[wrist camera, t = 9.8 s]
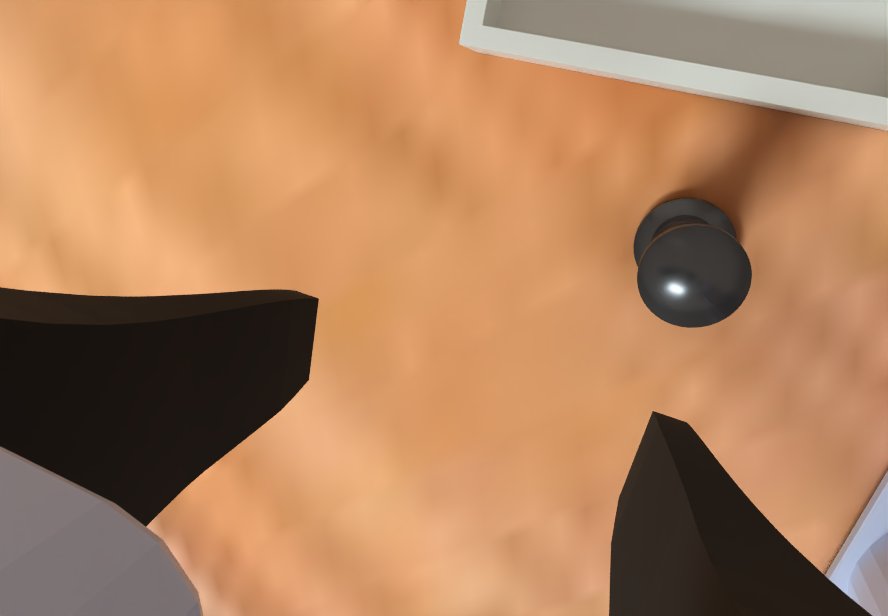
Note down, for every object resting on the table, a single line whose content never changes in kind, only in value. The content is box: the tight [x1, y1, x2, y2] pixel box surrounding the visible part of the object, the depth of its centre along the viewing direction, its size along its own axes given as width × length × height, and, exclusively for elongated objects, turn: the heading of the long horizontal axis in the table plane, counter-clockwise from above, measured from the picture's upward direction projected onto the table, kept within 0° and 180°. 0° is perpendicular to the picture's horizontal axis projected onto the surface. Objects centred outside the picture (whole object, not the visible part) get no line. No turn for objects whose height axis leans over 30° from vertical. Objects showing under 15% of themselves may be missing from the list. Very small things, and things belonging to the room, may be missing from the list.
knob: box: [634, 198, 752, 327], centre depth 16 cm, size 3×3×4 cm
